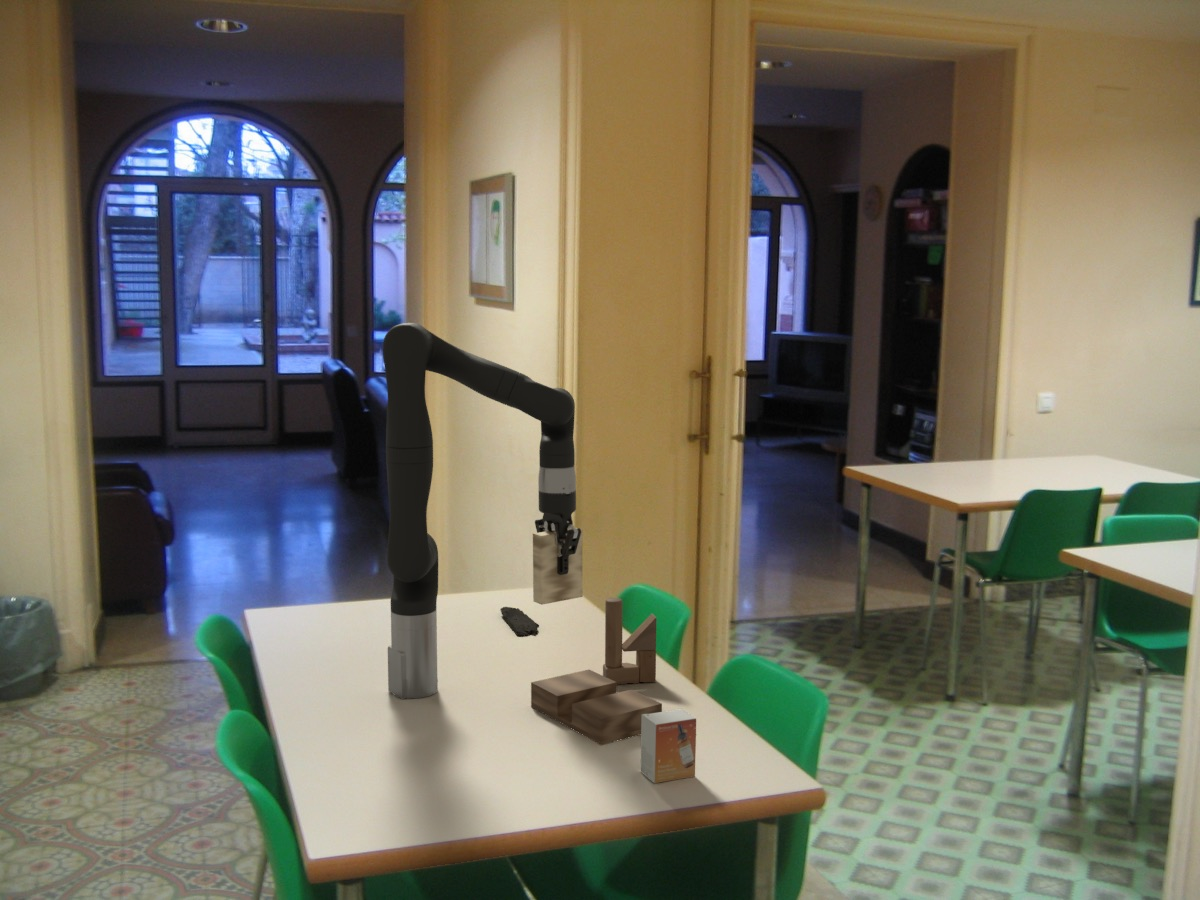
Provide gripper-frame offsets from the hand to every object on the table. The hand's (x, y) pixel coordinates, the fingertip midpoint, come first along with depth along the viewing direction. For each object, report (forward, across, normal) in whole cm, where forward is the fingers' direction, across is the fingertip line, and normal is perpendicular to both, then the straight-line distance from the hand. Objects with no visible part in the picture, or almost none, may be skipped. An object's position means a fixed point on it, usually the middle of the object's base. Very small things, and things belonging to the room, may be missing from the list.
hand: (557, 572), depth 240 cm
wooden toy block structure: (+26, +3, +16) cm, 30 cm away
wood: (+26, -47, +20) cm, 57 cm away
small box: (+26, +44, -8) cm, 52 cm away
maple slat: (+6, 0, 0) cm, 6 cm away
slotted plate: (+25, +16, -2) cm, 30 cm away
